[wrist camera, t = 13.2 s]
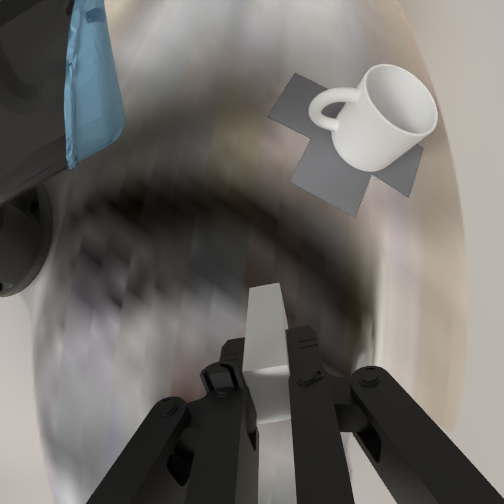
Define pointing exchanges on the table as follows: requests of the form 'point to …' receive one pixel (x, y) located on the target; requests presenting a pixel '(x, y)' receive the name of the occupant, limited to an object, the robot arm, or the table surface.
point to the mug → (377, 117)
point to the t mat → (334, 152)
